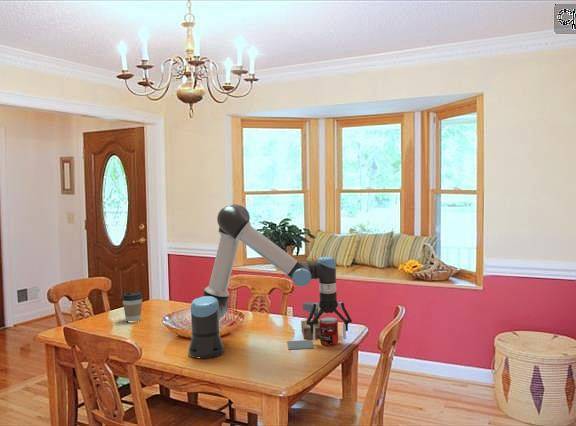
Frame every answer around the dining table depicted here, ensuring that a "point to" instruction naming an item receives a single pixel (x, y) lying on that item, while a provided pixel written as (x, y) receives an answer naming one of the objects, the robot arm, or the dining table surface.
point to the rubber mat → (300, 345)
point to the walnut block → (307, 332)
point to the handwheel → (309, 306)
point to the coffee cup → (132, 305)
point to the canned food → (329, 331)
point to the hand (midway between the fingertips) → (329, 339)
